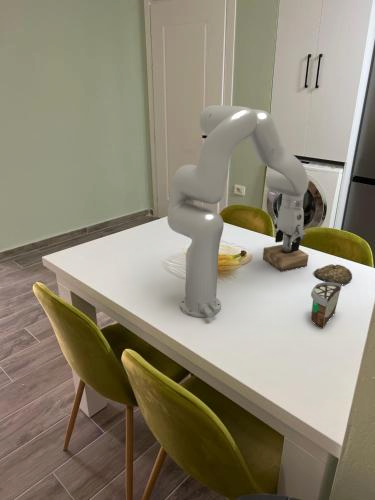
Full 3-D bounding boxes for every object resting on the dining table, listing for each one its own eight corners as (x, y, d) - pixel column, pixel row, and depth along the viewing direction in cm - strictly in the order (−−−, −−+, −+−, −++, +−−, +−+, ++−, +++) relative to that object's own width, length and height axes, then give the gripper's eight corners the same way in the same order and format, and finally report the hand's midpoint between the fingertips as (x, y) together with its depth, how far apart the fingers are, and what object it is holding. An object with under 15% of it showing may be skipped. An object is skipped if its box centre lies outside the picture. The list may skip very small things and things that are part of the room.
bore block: (306, 266, 143) (308, 254, 141) (281, 271, 138) (282, 259, 136) (287, 254, 153) (288, 243, 151) (262, 259, 148) (263, 247, 146)
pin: (290, 261, 144) (294, 235, 140) (283, 262, 143) (287, 236, 139) (285, 258, 147) (289, 232, 142) (279, 259, 146) (282, 233, 141)
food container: (316, 305, 117) (321, 277, 113) (336, 312, 114) (342, 283, 110) (300, 322, 108) (305, 292, 104) (320, 330, 105) (326, 300, 101)
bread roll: (340, 289, 128) (342, 276, 126) (308, 276, 136) (310, 263, 134) (358, 278, 135) (361, 266, 133) (328, 266, 144) (330, 254, 142)
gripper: (316, 208, 130) (309, 253, 137) (285, 196, 145) (280, 237, 151) (299, 211, 127) (292, 256, 134) (269, 198, 142) (265, 239, 149)
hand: (286, 246), depth 143 cm, fingers open, 9 cm apart
